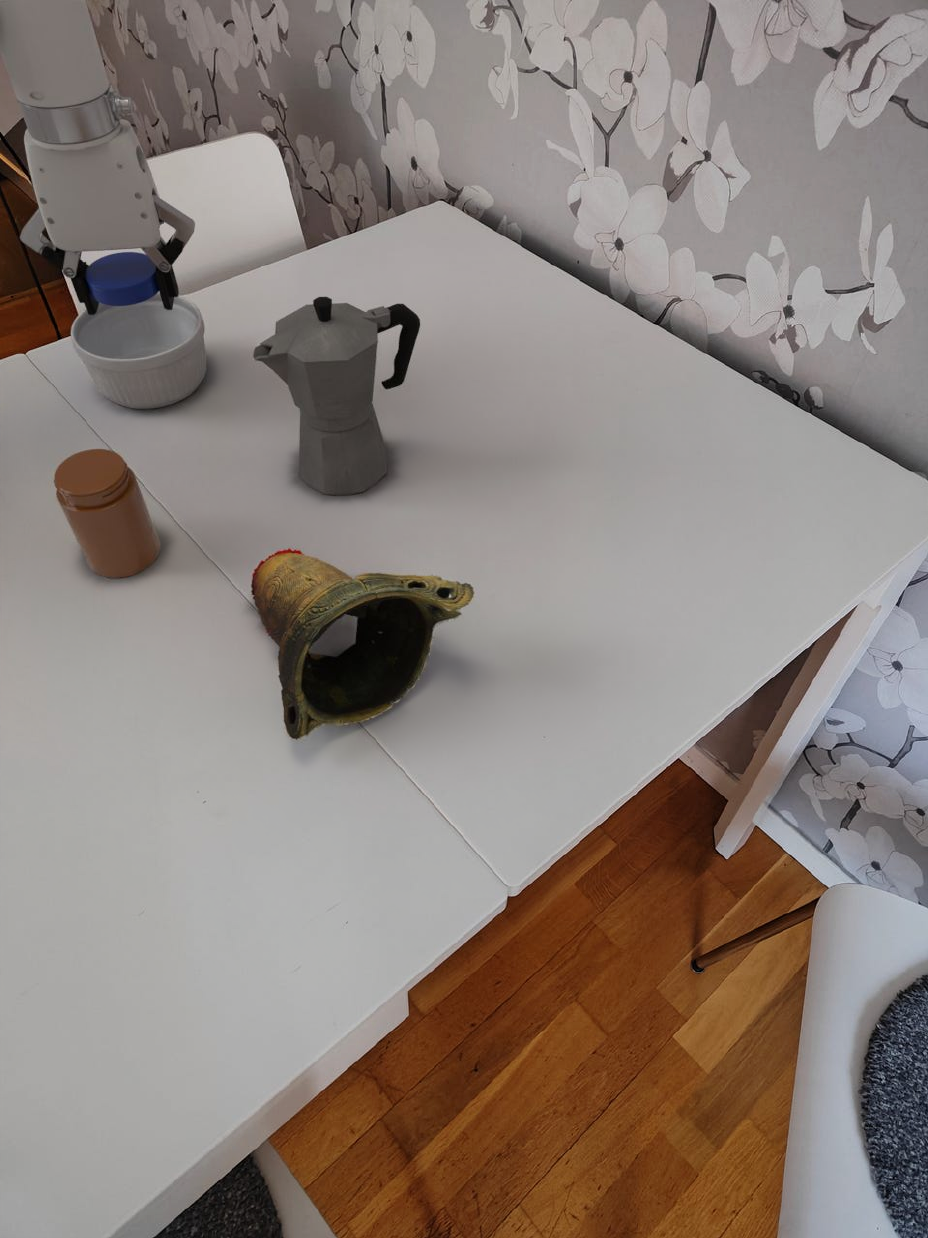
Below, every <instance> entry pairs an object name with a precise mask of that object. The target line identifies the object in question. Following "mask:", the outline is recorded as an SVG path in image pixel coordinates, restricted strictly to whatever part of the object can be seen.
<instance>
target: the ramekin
mask: <svg viewBox="0 0 928 1238" xmlns="http://www.w3.org/2000/svg"><path fill="white" fill-rule="evenodd" d="M204 335H205V322H204V319H203V315H202V312H201V310H200V309H199V307H198V306H197V305H196V304H195V303H194V302H193V301H192V300H190V299H188V298H186V297H185V296H183V295H180V294H179V295H178V297H174V303H173V309H172V310H166V309H164V306H163V302H162V299H161V296H160V292H158V293H157V294H156V295H154V296H153V297H151V298H150V299H148V300H146V301H143V302H141V303H137V304H133V305H128V306H110V305H105V304H102V303H100V302H99V306H98V309H97V313H95V315H89V314H88V312H87V309H86V308H85V309H84V310H82V312H81V313H79V314H78V315H77V317H76V318H75V319H74V321H73V323H72V325H71V327H70V339H71V342H72V346H73V348H74V351H75V353H76V354H77V356H78V357H79V358H80V359H81V360H82V363H83V365H84V367H85V368H86V371H87V372H88V374H89V376H90V378H91V379H92V382H93V383H94V385H95V386H96V388H97V389H98V391H99V392H100V393H101V394H102V395H103V396H104V397H105V398H106V399H108V400H110V401H112V402H114V404H117V405H119V406H123V407H124V408H125V407H126V408H130V409H137V410H150V409H160V408H164V407H167V406H171V405H173V404H176V403H178V402H181V401H182V400H184V399H186V398H187V397H189V396H191V395H192V394H193V393H194V392H195V391H196V390H197V389H198V388H199V386H200V384H201V383H202V381H203V379H204V377H205V375H206V371H207V355H206V346H205V338H204Z"/></svg>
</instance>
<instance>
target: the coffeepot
mask: <svg viewBox="0 0 928 1238" xmlns="http://www.w3.org/2000/svg"><path fill="white" fill-rule="evenodd" d="M397 326H401V329H400V331H399V332H400V333H399V337H398V346H397V347H398V348H397V352H396V354H395V356H394V359H393V374H392V375H391V377H389V378H388V379H385V380H382V381H381V385H382V387H383V388H384V389H385V390H391V389H394V388H396V387H400V386H402V385H403V384H404V383H405V380H406V378H407V377H406V376H407V373H408V369H409V366H410V362H411V359H412V355H413V352H414V348H415V345H416V341H417V337H418V335H419V332H420V328H421V319H420V317H419V315H418V314H417V313H415V312H414V311H413V310H412V309H411V308H409V307H408V306H407V305H406V304H404V303H395V304H392V305H390V306H386V307H385V306H384V305H383V306H382V305H381V306H378V307H375V308H374V307H373V308H371V309H368V310H367V311H365V310H362V309H360V308H358V307H356V306H355V305H352V304H351V303H348V302H337V303H336V302H335V303H334V302H333V299H332V298H330V297H328V296H317V297H316V298H314V299H313V300H312V304H305V305H303V306H301V307H300V308H297V309H296V310H294V311H293V312H290V313H289V314H287V315H286V316H283V317H282V318H280V319H277V321H275V328H274V329H275V330H274V331H275V332H274V334H273V335H272V336H270V337H268V338H266V339H265V340H263V341H261V342H260V343H259V345H258V346H255V347H254V350H253V353H252V358H253V360H254V361H257V362H261V363H263V364H264V365H265V366H267V367H268V368H269V369H271V371H273V373H275V375H277V376H278V377H279V379H281V381H282V382H284V383H285V384H286V385H287V388H288V390H289V392H290V395H291V398H292V401H293V403H294V406H295V407H296V408H298V410H299V444H298V445H299V451H298V452H299V453H298V457H299V458H298V478H299V479H300V481H301V482H304V483H305V484H306V485H307V486H309V487H310V488H311V489H313V490H315V491H317V492H318V493H322V494H323V495H328V496H329V495H330V496H351V495H354V494H355V495H356V494H358V493H363V492H365V491H367V490H369V489H371V488H373V487H374V486H375V485H377V484H378V483H379V482H380V481H381V480H382V478H384V476H385V475H387V474H388V463H387V459H388V458H387V448H386V444H385V441H384V438H383V433H382V431H381V427H380V424H379V420H378V417H377V414H376V413H377V412H376V410H375V406H374V403H373V401H374V392H375V391H374V390H375V378H376V377H375V376H376V366H377V352H378V343H379V334H381V333H382V332H385V331H389V330H390V329H392V328H394V327H397Z"/></svg>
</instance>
